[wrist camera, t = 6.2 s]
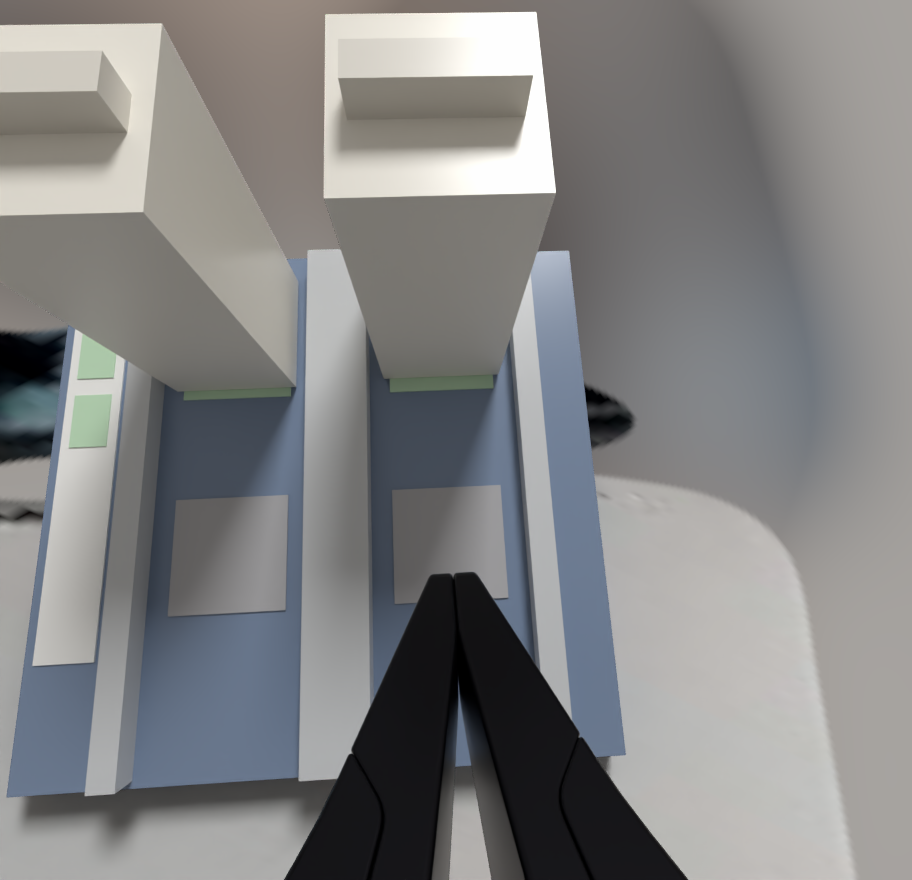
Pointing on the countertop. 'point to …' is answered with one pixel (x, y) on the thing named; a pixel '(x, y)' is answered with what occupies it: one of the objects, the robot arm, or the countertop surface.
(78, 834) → the countertop surface
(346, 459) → the switch bank
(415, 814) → the robot arm
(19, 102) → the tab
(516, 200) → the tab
